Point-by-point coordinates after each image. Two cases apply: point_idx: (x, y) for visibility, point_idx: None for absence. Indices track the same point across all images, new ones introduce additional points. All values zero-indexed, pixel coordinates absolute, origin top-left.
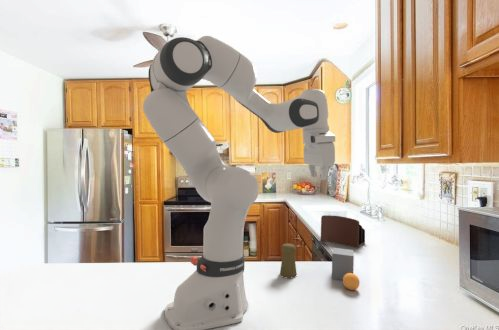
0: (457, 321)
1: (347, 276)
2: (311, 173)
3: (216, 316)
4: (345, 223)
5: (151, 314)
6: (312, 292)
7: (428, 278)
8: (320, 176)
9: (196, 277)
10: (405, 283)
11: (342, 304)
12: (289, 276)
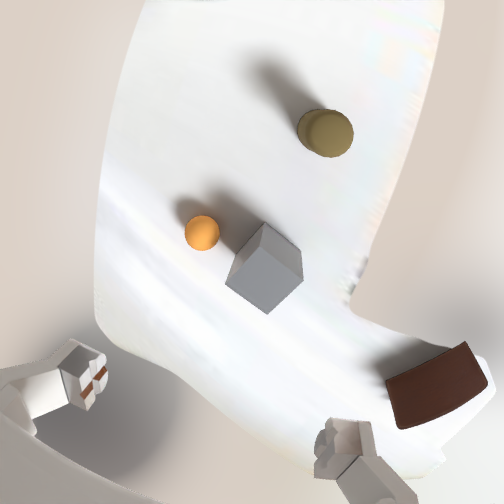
0: (100, 295)
1: (195, 226)
2: (348, 442)
3: None
4: (427, 407)
5: None
6: (213, 138)
7: (215, 376)
8: (85, 363)
9: None
10: (205, 334)
11: (157, 171)
12: (299, 123)
